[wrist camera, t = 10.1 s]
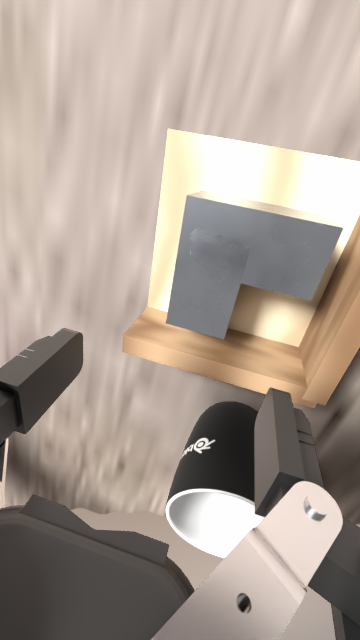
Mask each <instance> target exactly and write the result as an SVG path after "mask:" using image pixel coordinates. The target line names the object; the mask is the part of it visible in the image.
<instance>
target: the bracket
mask: <svg viewBox="0 0 360 640" xmlns="http://www.w3.org/2000/svg"><path fill="white" fill-rule="evenodd" d="M343 229H344V228H343V227H341V226H340V225H338V224H337V223H335V222H334V221H332V220H331V219H329V218H328V217H326V216H325V215H322V214H317V213H312V212H307V211H302V210H298V209H293V208H288V207H283V206H278V205H273V204H268V203H264V202H259V201H254V200H249V199H244V198H239V197H235V196H230V195H225V194H220V193H215V192H210V191H205V190H202V191H198V192H195V193H192V194H188V195H187V196H186V202H185V208H184V215H183V221H182V227H181V233H180V239H179V245H178V251H177V257H176V264H175V270H174V276H173V282H172V288H171V294H170V300H169V306H168V312H167V319H166V324H170V325H173V326H177V327H180V328H184V329H188V330H191V331H195V332H198V333H202V334H206V335H209V336H213V337H216V338H220V339H224V338H225V335H226V331H227V328H228V325H229V321H230V318H231V314H232V311H233V308H234V304H235V301H236V298H237V294H238V291H239V288H240V284H241V283H242V284H246V285H250V286H254V287H258V288H262V289H266V290H270V291H274V292H278V293H282V294H286V295H290V296H294V297H298V298H302V299H306V300H310V301H311V300H312V298H313V295H314V293H315V291H316V289H317V287H318V284H319V282H320V280H321V278H322V275H323V273H324V271H325V269H326V267H327V264H328V262H329V260H330V258H331V255H332V253H333V251H334V249H335V247H336V244H337V242H338V240H339V238H340V235H341V233H342V231H343Z"/></svg>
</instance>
